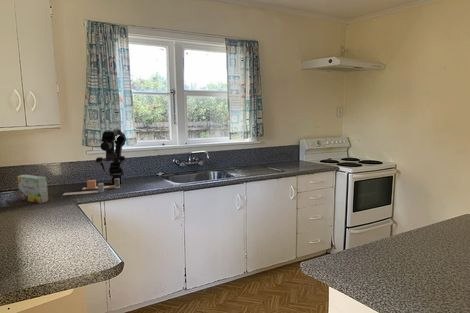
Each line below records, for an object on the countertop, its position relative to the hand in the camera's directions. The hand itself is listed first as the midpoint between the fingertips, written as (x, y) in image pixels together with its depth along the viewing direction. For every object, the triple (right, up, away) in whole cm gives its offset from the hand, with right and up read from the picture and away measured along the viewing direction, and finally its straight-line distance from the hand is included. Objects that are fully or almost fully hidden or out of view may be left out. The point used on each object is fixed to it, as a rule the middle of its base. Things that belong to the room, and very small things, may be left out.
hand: (111, 171), depth 232 cm
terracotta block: (-12, -11, -5) cm, 17 cm away
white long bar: (-11, -14, -18) cm, 25 cm away
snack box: (-35, -17, -33) cm, 50 cm away
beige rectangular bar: (-6, -12, -3) cm, 14 cm away
